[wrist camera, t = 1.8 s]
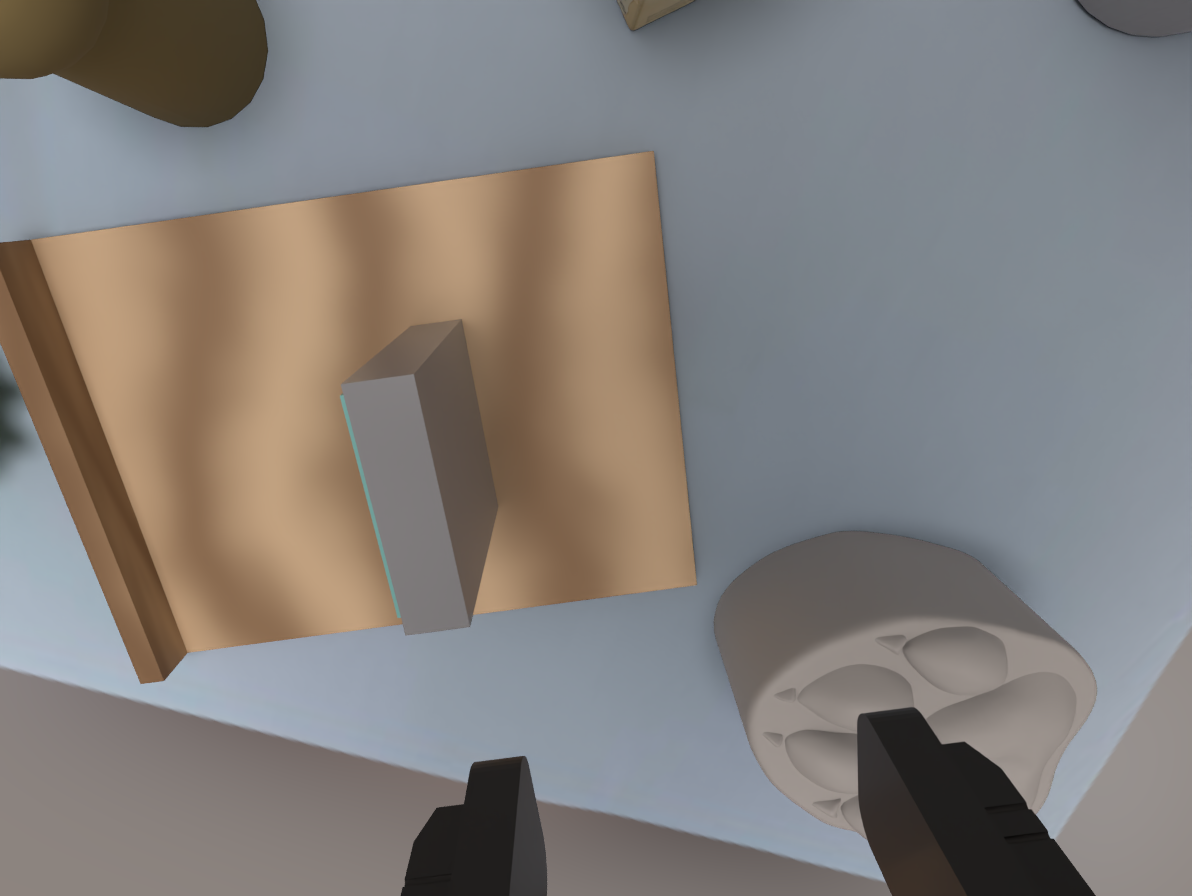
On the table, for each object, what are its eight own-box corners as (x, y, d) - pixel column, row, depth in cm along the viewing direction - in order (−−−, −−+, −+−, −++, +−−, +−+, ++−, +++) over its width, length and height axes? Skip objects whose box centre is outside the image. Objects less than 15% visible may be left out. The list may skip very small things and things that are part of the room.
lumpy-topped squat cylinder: (938, 736, 37) (1041, 891, 29) (689, 699, 36) (723, 850, 28) (1016, 555, 34) (1158, 672, 25) (744, 508, 32) (801, 615, 24)
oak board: (650, 152, 27) (659, 147, 24) (693, 573, 33) (704, 609, 30) (23, 241, 28) (-39, 247, 25) (177, 642, 34) (140, 684, 31)
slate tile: (461, 318, 28) (413, 374, 20) (498, 506, 31) (470, 627, 22) (404, 326, 28) (331, 385, 20) (445, 514, 31) (397, 636, 22)
